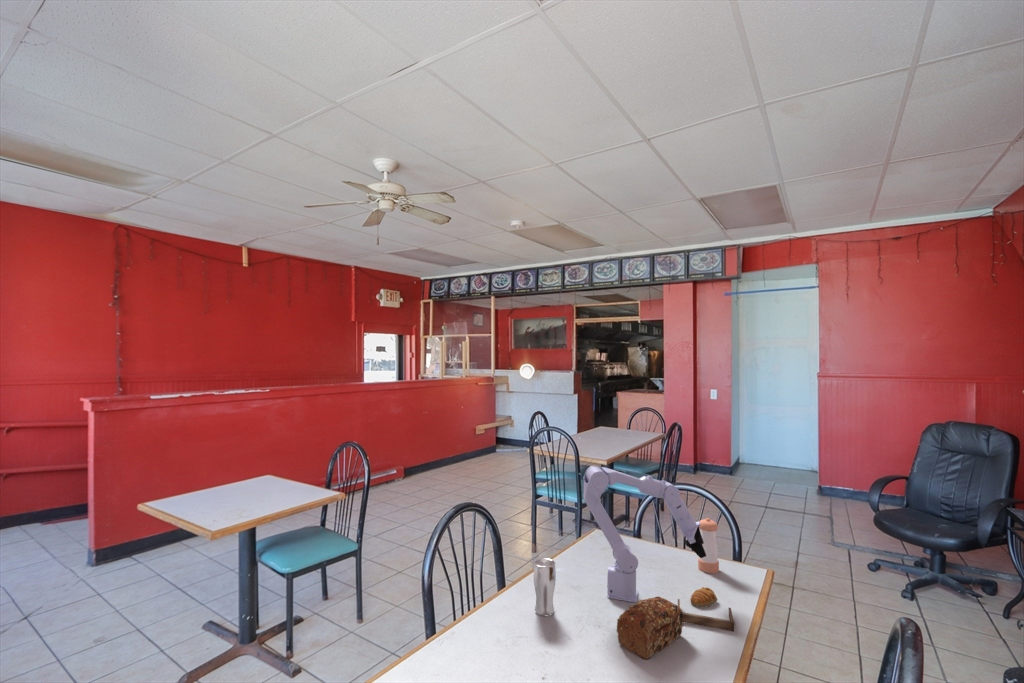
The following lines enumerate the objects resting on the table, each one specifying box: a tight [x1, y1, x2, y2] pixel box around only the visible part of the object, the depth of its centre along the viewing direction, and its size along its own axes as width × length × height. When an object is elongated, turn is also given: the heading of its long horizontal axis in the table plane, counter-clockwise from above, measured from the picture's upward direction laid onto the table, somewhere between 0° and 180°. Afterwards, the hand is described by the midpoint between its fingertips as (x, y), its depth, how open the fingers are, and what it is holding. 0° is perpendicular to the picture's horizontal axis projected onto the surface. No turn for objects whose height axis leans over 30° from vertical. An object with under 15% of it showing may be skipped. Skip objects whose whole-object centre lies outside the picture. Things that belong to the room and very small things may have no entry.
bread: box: [616, 596, 684, 660], centre depth 132 cm, size 19×11×10 cm, turn 130°
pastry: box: [690, 587, 718, 608], centre depth 153 cm, size 9×7×4 cm
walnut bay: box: [677, 598, 735, 632], centre depth 143 cm, size 16×9×2 cm, turn 71°
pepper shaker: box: [697, 517, 720, 574], centre depth 178 cm, size 7×7×19 cm
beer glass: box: [533, 557, 557, 616], centre depth 147 cm, size 7×7×15 cm
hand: (702, 550), depth 158 cm, fingers open, 7 cm apart
